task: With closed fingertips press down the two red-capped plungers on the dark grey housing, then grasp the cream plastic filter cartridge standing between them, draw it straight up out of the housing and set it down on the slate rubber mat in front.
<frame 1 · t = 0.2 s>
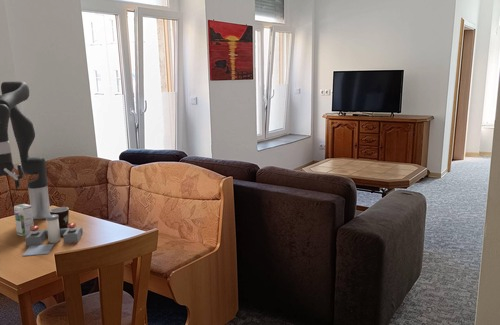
hand: (5, 189, 168), 28 cm above the table, fingers open, 8 cm apart
filter cartridge: (54, 240, 183), on the table
right plunger: (71, 228, 184), point 5 cm above the table, slide at 0.0 cm
housing: (54, 240, 183), on the table
mat: (38, 250, 173), on the table
coffee mug: (58, 229, 197), on the table
left plunger: (34, 231, 180), point 5 cm above the table, slide at 0.0 cm
syrup box: (26, 234, 191), on the table
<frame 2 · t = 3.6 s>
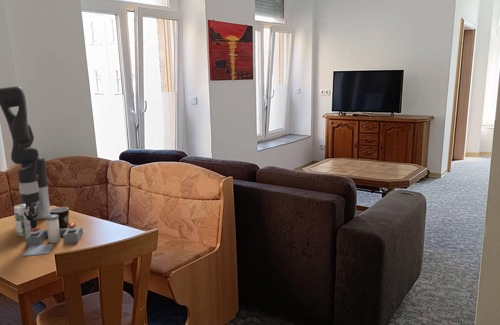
hand: (33, 227, 180), 7 cm above the table, fingers closed
left plunger: (34, 231, 180), point 5 cm above the table, slide at 0.2 cm, touching gripper
everything else where it was.
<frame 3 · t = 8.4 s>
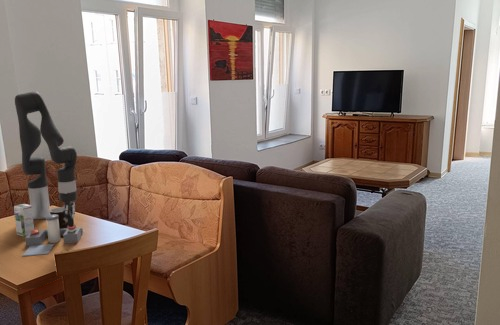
hand: (71, 225, 183), 7 cm above the table, fingers closed
right plunger: (71, 229, 184), point 5 cm above the table, slide at 0.8 cm, touching gripper
left plunger: (35, 234, 181), point 4 cm above the table, slide at 1.9 cm
everything else where it was.
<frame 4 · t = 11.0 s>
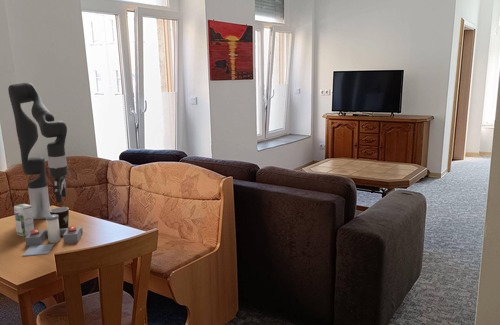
hand: (61, 199, 180), 20 cm above the table, fingers open, 8 cm apart
right plunger: (72, 232, 184), point 4 cm above the table, slide at 1.8 cm
everything else where it was.
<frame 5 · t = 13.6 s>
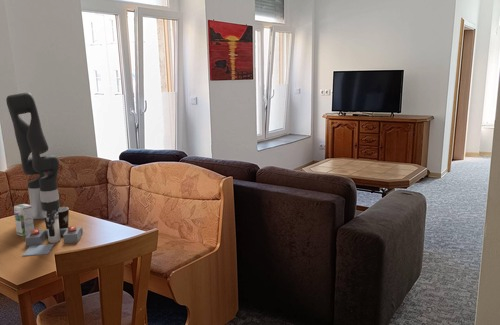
hand: (53, 233, 182), 3 cm above the table, fingers closed on filter cartridge, 5 cm apart
filter cartridge: (54, 240, 183), on the table, touching gripper
everything else where it was.
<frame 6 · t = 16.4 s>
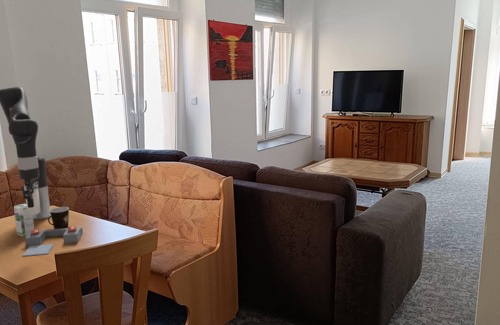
hand: (33, 205, 168), 21 cm above the table, fingers closed on filter cartridge, 5 cm apart
filter cartridge: (34, 212, 169), point 17 cm above the table, touching gripper
everything else where it was.
when the fingers open (5 cm above the table, at t = 19.7 s): filter cartridge stays where it is, resting on mat.
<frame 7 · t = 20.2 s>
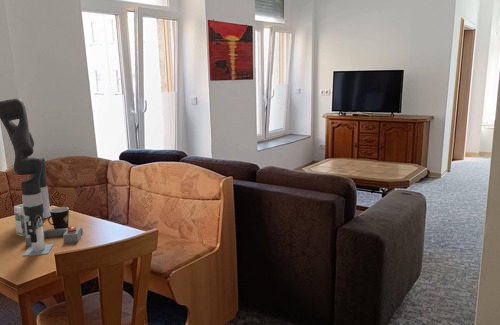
hand: (37, 238, 172), 6 cm above the table, fingers open, 8 cm apart
filter cartridge: (38, 249, 173), resting on mat
everything else where it was.
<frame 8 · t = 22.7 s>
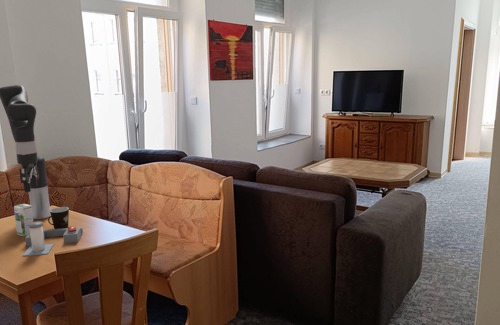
hand: (31, 189, 167), 28 cm above the table, fingers open, 8 cm apart
nothing on the table moved.
at the end: filter cartridge inside the target area on the mat (0.1 cm from its centre), point 0.4 cm above the mat's base; left plunger slide at 1.9 cm; right plunger slide at 1.8 cm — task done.
